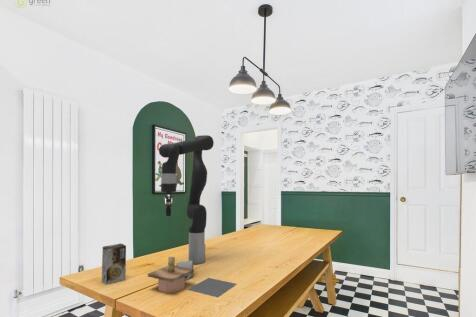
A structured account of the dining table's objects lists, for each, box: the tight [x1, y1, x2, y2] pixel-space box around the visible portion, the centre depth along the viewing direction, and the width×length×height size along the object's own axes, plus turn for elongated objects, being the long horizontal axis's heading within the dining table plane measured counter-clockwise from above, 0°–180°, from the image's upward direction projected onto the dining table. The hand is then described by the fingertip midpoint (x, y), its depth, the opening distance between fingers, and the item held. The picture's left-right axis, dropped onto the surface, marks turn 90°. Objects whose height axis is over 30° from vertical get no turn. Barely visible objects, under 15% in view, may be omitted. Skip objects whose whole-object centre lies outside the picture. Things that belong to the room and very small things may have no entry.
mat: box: [186, 277, 238, 298], centre depth 119 cm, size 16×16×1 cm
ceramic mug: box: [175, 260, 194, 282], centre depth 131 cm, size 11×8×8 cm
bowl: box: [157, 277, 185, 294], centre depth 119 cm, size 11×11×6 cm
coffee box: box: [101, 243, 127, 285], centre depth 129 cm, size 9×6×16 cm
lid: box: [147, 256, 195, 282], centre depth 119 cm, size 14×14×7 cm
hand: (168, 214), depth 135 cm, fingers open, 8 cm apart
